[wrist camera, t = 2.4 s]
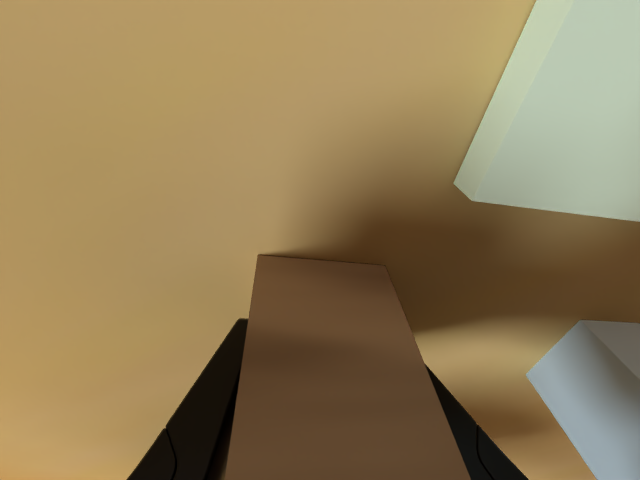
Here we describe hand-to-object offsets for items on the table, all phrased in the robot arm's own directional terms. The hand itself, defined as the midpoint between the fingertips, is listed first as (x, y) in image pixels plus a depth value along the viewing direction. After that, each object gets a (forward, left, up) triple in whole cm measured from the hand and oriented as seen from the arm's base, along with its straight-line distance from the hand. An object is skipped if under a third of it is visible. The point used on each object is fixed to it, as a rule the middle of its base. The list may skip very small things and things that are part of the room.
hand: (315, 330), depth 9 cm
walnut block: (0, 0, -1) cm, 1 cm away
